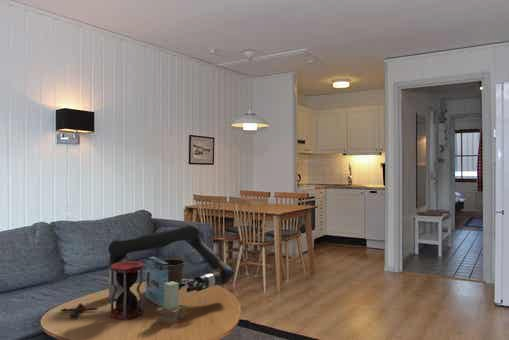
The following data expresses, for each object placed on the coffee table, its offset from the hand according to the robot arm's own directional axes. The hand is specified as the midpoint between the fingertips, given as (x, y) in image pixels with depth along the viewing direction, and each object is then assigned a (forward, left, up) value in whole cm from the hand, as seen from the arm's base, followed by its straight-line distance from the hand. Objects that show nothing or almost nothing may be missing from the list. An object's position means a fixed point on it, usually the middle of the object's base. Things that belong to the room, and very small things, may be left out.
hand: (181, 288), depth 208 cm
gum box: (-9, +27, -14) cm, 31 cm away
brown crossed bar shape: (-49, +21, -14) cm, 55 cm away
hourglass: (-25, +12, -14) cm, 31 cm away
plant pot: (+4, +49, -14) cm, 51 cm away
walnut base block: (-6, -3, -14) cm, 15 cm away
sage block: (-6, -3, -8) cm, 10 cm away
